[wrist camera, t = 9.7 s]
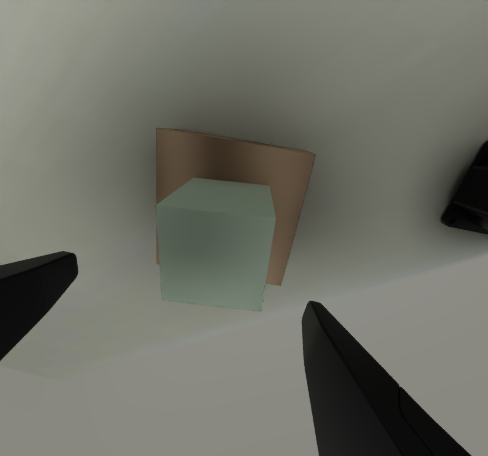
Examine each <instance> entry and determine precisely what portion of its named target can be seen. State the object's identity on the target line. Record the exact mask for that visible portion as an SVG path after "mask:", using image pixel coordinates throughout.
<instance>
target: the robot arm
mask: <svg viewBox="0 0 488 456" xmlns="http://www.w3.org/2000/svg"><path fill="white" fill-rule="evenodd" d="M450 218H452V220H451V221H449V219H450ZM441 221H442V223H443V224H444V225H446V226H449V227H454V228H459V229H464V230H469V231H474V232H479V233H484V234H488V142H486V143H485V144H484V146H483V147H482V149H481V151H480V153H479V154H478V156H477V158H476V160H475V161H474V163H473V165H472V167H471V168H470V170H469V172H468V174H467V175H466V177H465V179H464V180H463V182H462V184H461V186H460V187H459V189H458V191H457V193H456V194H455V196H454V198H453V200H452V201H451V203H450V205H449V207H448V208H447V210H446V212H445V214H444V215H443V217H442V220H441ZM448 221H449V222H448ZM77 275H78V265H77V258H76V255H75V254H74V253H70V252H65V251H61V252H57V253H53V254H48V255H44V256H39V257H35V258H31V259H26V260H22V261H18V262H13V263H9V264H5V265H0V361H1V360H2V359H3V358H4V357H5V356H6V354H7V353H8V352H9V351H10V350H11V349H12V348H13V347H14V346H15V345H16V344H17V343H18V342H19V341H20V340H21V339H22V338H23V337H24V336H25V335H26V334H27V333H28V332H29V331H30V330H31V329H32V328H33V327H34V326H35V325H36V324H37V323H38V322H39V321H40V320H41V319H42V318H43V317H44V316H45V315H46V313H47V312H48V311H49V310H50V309H51V308H52V307H53V305H54V304H55V303H56V302H57V301H58V299H59V298H60V297H61V296H62V294H63V293H64V292H65V291H66V290H67V288H68V287H69V286H70V285H71V283H72V282H73V281H74V280H75V279H76V277H77ZM302 337H303V355H304V366H305V373H306V379H307V385H308V391H309V397H310V403H311V410H312V415H313V422H314V427H315V434H316V440H317V446H318V452H319V456H471V455H470V454H469V453H468V452H467V451H466V450H465V449H464V448H463V447H462V446H461V445H459V444H458V443H457V442H456V441H455V440H454V439H453V438H452V437H451V436H450V435H449V434H448V433H447V432H446V431H445V430H444V429H443V428H442V427H441V426H439V424H438V423H436V422H435V421H434V420H433V419H432V418H431V417H430V416H429V415H428V414H427V413H426V412H425V411H424V410H423V409H422V408H421V407H420V406H419V405H418V404H417V403H416V402H415V401H414V400H413V398H412V397H411V396H410V395H408V393H407V392H406V391H405V390H404V389H403V388H402V387H399V384H398V383H397V382H396V381H395V380H394V379H393V378H392V377H391V376H390V375H389V374H388V373H387V372H386V370H385V369H384V368H383V367H382V366H381V365H380V364H379V363H378V362H377V361H376V360H375V359H374V358H373V357H372V356H371V355H370V354H369V353H368V352H367V351H366V350H365V349H364V348H363V347H362V346H361V345H360V343H359V342H357V340H356V339H355V338H354V337H353V336H352V335H351V334H350V333H349V332H348V331H347V330H346V329H345V328H344V327H343V326H342V325H341V324H340V323H339V322H338V321H337V320H336V319H335V318H334V316H333V315H332V314H331V313H329V311H328V310H327V309H326V308H325V307H324V306H323V305H322V304H321V303H319V302H315V301H309V302H308V304H307V306H306V309H305V311H304V314H303V317H302Z"/></svg>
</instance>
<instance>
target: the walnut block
mask: <svg viewBox="0 0 488 456" xmlns="http://www.w3.org/2000/svg"><path fill="white" fill-rule="evenodd" d="M156 148H157V204H158V203H159V202H161V201H162V200H164V199H165V198H166V197H168V196H169V195H170V194H172V193H173V192H175V191H176V190H177V189H179V188H180V187H181V186H183V185H184V184H186V183H187V182H188V181H190V180H191V179H192V178H203V179H212V180H222V181H232V182H241V183H251V184H261V185H269V186H270V191H271V196H272V201H273V206H274V211H275V216H276V221H275V228H274V234H273V240H272V246H271V253H270V259H269V265H268V272H267V278H266V284H272V285H278V286H281V284H282V280H283V276H284V272H285V269H286V265H287V261H288V257H289V254H290V250H291V246H292V242H293V239H294V235H295V231H296V227H297V224H298V220H299V216H300V212H301V209H302V205H303V201H304V198H305V194H306V190H307V186H308V183H309V179H310V175H311V171H312V168H313V164H314V160H315V156H316V155H315V154H313V153H310V152H308V151H304V150H298V149H292V148H286V147H281V146H275V145H269V144H263V143H257V142H251V141H245V140H239V139H233V138H227V137H221V136H215V135H209V134H203V133H197V132H191V131H185V130H179V129H165V128H156ZM157 264H159V250H158V236H157Z"/></svg>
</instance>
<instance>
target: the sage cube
mask: <svg viewBox="0 0 488 456" xmlns="http://www.w3.org/2000/svg"><path fill="white" fill-rule="evenodd" d="M155 208H156V222H157V236H158V250H159V264H160V277H161V291H162V300H165V301H174V302H182V303H191V304H200V305H209V306H218V307H226V308H235V309H244V310H253V311H261V310H262V303H263V297H264V291H265V284H266V278H267V272H268V265H269V259H270V253H271V246H272V240H273V234H274V228H275V221H276V216H275V211H274V206H273V201H272V196H271V191H270V186H269V185H261V184H251V183H241V182H232V181H222V180H212V179H203V178H192V179H191V180H190V181H188V182H187V183H186V184H184V185H183V186H181V187H180V188H179V189H177V190H176V191H175V192H173V193H172V194H170V195H169V196H168V197H166V198H165V199H164V200H162V201H161V202H159V203H158V204H157V205H155Z"/></svg>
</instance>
